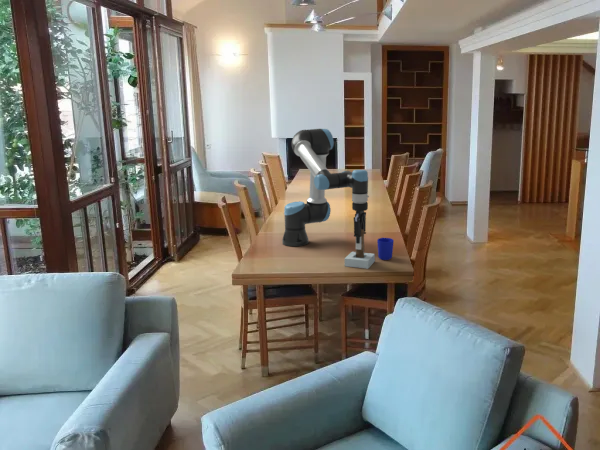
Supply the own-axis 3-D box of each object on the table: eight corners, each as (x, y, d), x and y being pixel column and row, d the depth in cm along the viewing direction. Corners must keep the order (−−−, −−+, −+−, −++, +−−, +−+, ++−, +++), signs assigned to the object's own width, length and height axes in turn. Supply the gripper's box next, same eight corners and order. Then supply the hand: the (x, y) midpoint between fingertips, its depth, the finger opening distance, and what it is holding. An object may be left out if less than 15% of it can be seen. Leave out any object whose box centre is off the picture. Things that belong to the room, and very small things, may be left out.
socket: (344, 266, 255) (344, 258, 254) (352, 259, 266) (352, 251, 265) (368, 268, 250) (368, 260, 249) (374, 261, 261) (374, 253, 260)
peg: (354, 257, 256) (354, 230, 253) (357, 255, 260) (357, 228, 256) (362, 258, 254) (362, 231, 251) (364, 256, 258) (365, 229, 255)
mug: (389, 253, 273) (390, 235, 270) (394, 260, 261) (395, 241, 259) (374, 254, 273) (374, 236, 270) (378, 261, 261) (378, 242, 258)
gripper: (362, 205, 241) (362, 253, 247) (372, 198, 256) (371, 244, 262) (347, 204, 244) (347, 252, 250) (357, 198, 259) (357, 242, 265)
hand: (359, 247), depth 256 cm, fingers closed on peg, 4 cm apart
